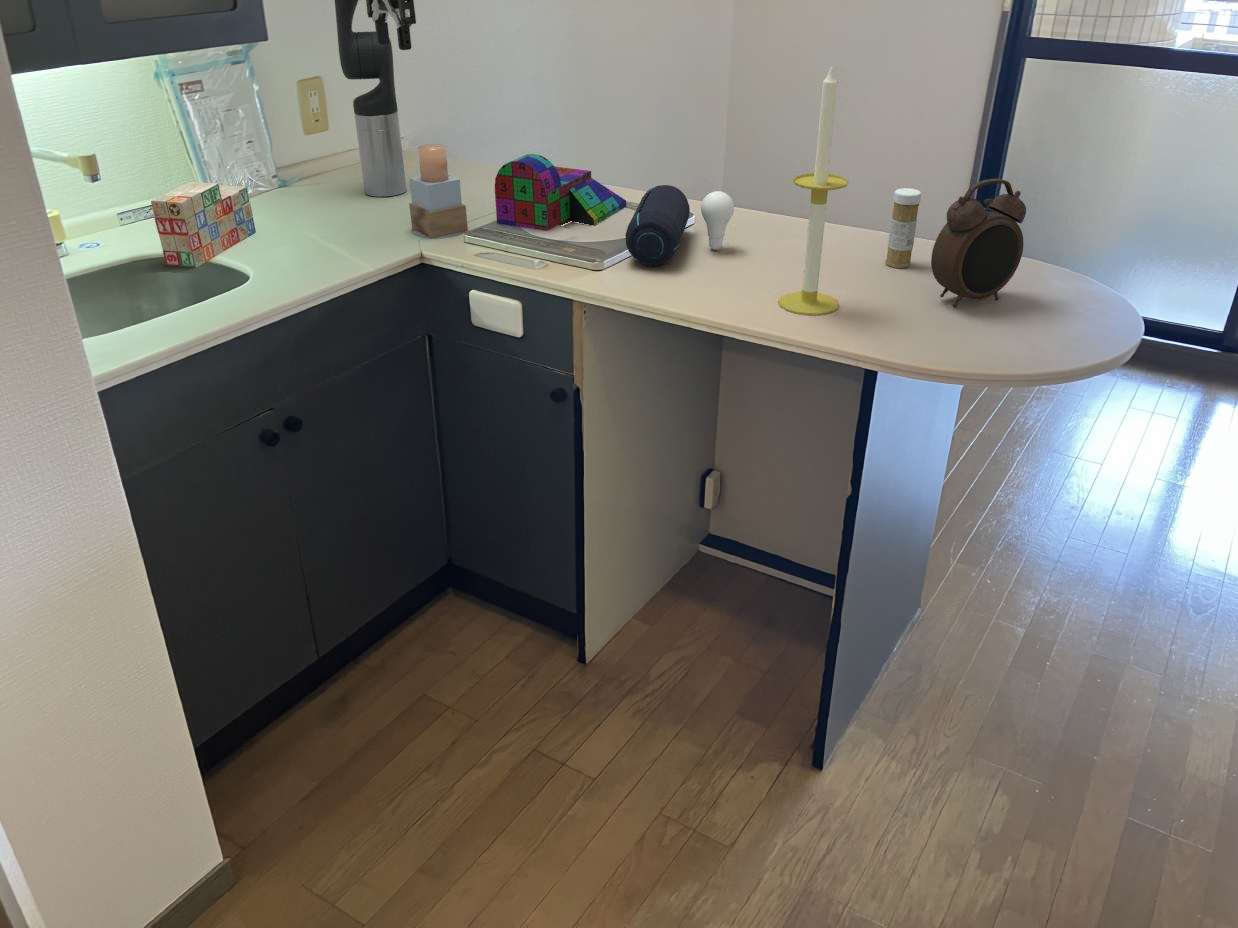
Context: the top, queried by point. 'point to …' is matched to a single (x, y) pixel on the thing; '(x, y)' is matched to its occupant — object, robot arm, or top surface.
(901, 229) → the sprinkles bottle
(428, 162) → the peach rounded cylinder
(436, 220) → the walnut base block
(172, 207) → the stack of blocks
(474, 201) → the top surface
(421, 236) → the slate coaster
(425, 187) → the grey-blue top block
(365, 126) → the robot arm
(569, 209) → the numbered checker block
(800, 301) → the candle
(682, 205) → the portable speaker
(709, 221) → the lightbulb
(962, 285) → the alarm clock
